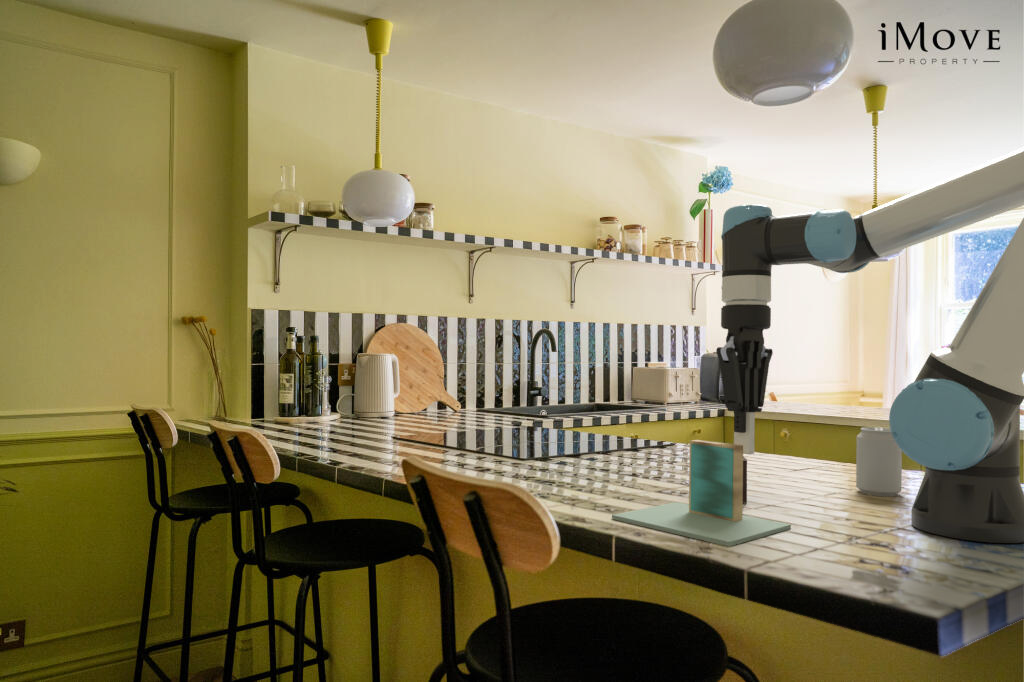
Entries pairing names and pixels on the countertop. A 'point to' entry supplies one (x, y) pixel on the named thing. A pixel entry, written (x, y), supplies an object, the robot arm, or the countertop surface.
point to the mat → (701, 524)
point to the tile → (716, 479)
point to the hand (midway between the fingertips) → (744, 452)
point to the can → (878, 462)
